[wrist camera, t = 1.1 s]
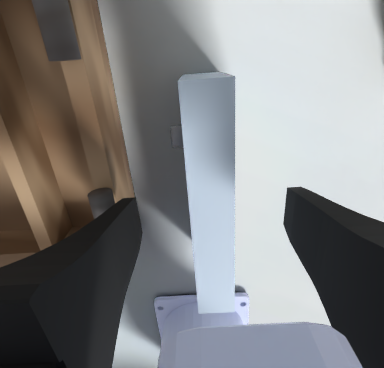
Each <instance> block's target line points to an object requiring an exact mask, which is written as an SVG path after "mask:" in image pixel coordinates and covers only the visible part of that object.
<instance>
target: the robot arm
mask: <svg viewBox="0 0 384 368" xmlns="http://www.w3.org/2000/svg"><path fill="white" fill-rule="evenodd" d="M284 227H285V230H286V232H287V235H288V238H289V240H290V242H291V244H292V246H293V248H294V250H295V252H296V253H297V255H298V257H299V259H300V261H301V262H302V264H303V266H304V268H305V269H306V271H307V273H308V275H309V276H310V278H311V280H312V282H313V284H314V286H315V288H316V290H317V292H318V294H319V297H320V299H321V301H322V304H323V306H324V308H325V311H326V313H327V316H328V318H329V321H330V323H331V326H332V327H331V326H328V325H324V324H316V323H309V322H293V323H271V324H249V325H248V319H249V296H248V294H247V293H243V292H241V293H235V312H227V313H206V314H199V313H198V302H197V295H182V296H162V297H157V298H155V300H154V307H155V312H156V317H157V322H158V328H159V333H160V338H161V350H160V355H159V360H158V368H384V222H381V221H378V220H375V219H373V218H370V217H367V216H364V215H362V214H359V213H357V212H355V211H352V210H350V209H348V208H345V207H343V206H341V205H339V204H337V203H334V202H332V201H330V200H328V199H326V198H324V197H322V196H320V195H318V194H316V193H314V192H312V191H309V190H307V189H305V188H302V187H291V188H287V195H286V204H285V214H284ZM141 238H142V228H141V223H140V218H139V212H138V207H137V202H136V197H133V198H123V199H121V200H119V201H118V202H117V203H115V204H114V205H113V206H111V207H110V208H109V209H107V210H106V211H105V212H103V213H102V214H101V215H99V216H98V217H97V218H95V219H94V220H93V221H91V222H90V223H88V224H87V225H85V226H84V227H82V228H81V229H80V230H78V231H76V232H75V233H73V234H72V235H70V236H68V237H66V238H65V239H63V240H61V241H59V242H57V243H56V244H53V245H51V246H49V247H47V248H45V249H43V250H41V251H39V252H37V253H35V254H33V255H30V256H28V257H26V258H23V259H21V260H18V261H16V262H13V263H11V264H8V265H5V266H3V267H0V368H112V363H113V357H114V351H115V345H116V339H117V334H118V328H119V323H120V318H121V313H122V308H123V303H124V298H125V295H126V291H127V288H128V285H129V282H130V278H131V275H132V272H133V269H134V266H135V263H136V260H137V256H138V253H139V250H140V244H141ZM242 302H243V303H242ZM161 306H162V307H161Z"/></svg>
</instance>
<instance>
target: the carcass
mask: <svg viewBox="0 0 384 368" xmlns="http://www.w3.org/2000/svg"><path fill="white" fill-rule="evenodd" d="M133 197H135V194H134V189H133V184H132V178H131V173H130V168H129V163H128V158H127V153H126V147H125V142H124V137H123V132H122V127H121V122H120V116H119V111H118V106H117V101H116V96H115V90H114V85H113V80H112V75H111V70H110V65H109V59H108V54H107V49H106V44H105V39H104V34H103V28H102V23H101V18H100V13H99V8H98V3H97V0H0V267H3V266H5V265H8V264H11V263H13V262H16V261H18V260H21V259H23V258H26V257H28V256H30V255H33V254H35V253H37V252H39V251H41V250H43V249H45V248H47V247H49V246H51V245H53V244H56V243H57V242H59V241H61V240H63V239H65V238H66V237H68V236H70V235H72V234H73V233H75V232H76V231H78V230H80V229H81V228H82V227H84V226H85V225H87V224H88V223H90V222H91V221H93V220H94V219H95V218H97V217H98V216H99V215H101V214H102V213H103V212H105V211H106V210H107V209H109V208H110V207H111V206H113V205H114V204H115V203H117V202H118V201H119V200H121V199H123V198H133Z"/></svg>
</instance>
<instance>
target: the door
mask: <svg viewBox="0 0 384 368" xmlns="http://www.w3.org/2000/svg"><path fill="white" fill-rule="evenodd" d="M178 91H179V102H180V113H181V124H182V125H181V126H171V141H172V147H173V148H181V147H184V158H185V169H186V180H187V191H188V202H189V213H190V224H191V235H192V246H193V257H194V269H195V280H196V291H197V302H198V313H199V314H206V313H227V312H235V76H232V75H229V74H225V73H222V72H208V73H195V74H183V75H182V76H181V78H180V79H179V80H178Z"/></svg>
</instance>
